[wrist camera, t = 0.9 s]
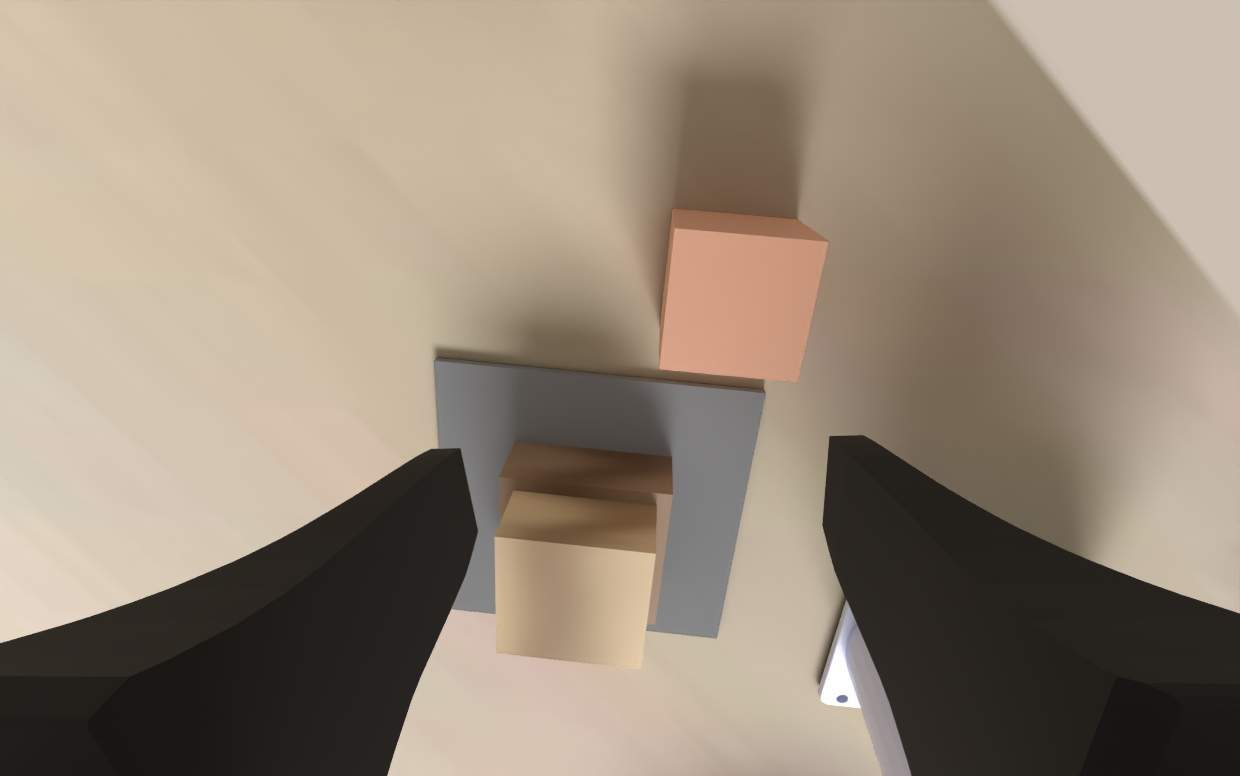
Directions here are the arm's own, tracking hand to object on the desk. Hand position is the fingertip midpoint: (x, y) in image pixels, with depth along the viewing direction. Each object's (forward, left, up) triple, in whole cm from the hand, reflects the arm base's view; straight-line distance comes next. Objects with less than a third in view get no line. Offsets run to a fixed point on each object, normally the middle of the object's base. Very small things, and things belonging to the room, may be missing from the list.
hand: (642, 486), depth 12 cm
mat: (+2, +8, -10) cm, 13 cm away
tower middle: (+2, +8, -7) cm, 11 cm away
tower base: (+2, +8, -10) cm, 13 cm away
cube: (-2, -2, -10) cm, 10 cm away
